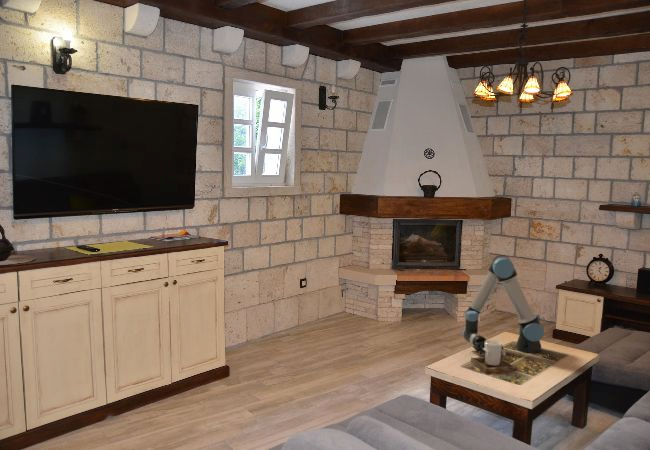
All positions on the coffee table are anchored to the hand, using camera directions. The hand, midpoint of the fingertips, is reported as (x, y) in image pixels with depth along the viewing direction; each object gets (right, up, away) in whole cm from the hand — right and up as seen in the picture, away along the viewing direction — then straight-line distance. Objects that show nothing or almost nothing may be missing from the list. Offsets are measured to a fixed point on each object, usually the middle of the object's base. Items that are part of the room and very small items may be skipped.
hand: (496, 353), depth 297 cm
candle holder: (-1, -7, +5) cm, 8 cm away
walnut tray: (-1, -9, +5) cm, 10 cm away
